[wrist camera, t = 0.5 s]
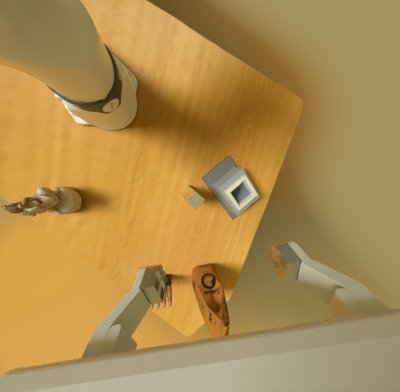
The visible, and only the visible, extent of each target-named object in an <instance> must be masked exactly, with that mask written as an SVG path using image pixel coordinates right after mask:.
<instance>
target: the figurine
mask: <svg viewBox="0 0 400 392" xmlns="http://www.w3.org/2000/svg"><path fill="white" fill-rule="evenodd" d="M37 192H38V195H31V196H27V197H26V198H24V199H23V202H21V201H16V202H13V203H10V204H8V205H5V206H2V208H3V209H4V210H5V211H8V212H10V213H18V214H22V215H26V216H30V217H34V216H36V213H38V214H41V213H44V212H46V211H47V212H48V213H51V214H54V215H62V214H70V213H71V214H72V213H73V212H75V211H76V210H78V209H79V208H80V206H81V202H82V199H81V196H80V195H79V194H78V192H76V191H75V190H74V189H72V188H69V187H57V188H53V189H49V188H43V187H42V188H39V189H38V190H37Z"/></svg>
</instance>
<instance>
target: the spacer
mask: <svg viewBox="0 0 400 392" xmlns="http://www.w3.org/2000/svg"><path fill="white" fill-rule="evenodd" d="M243 181H244V182H245V184H246V186H247V187H248V189H249V190H250V192H251V193H252V194H251V195H250V196H249V197H247V198H246V199H245V200H244V201H243V202H242V203H240V204H239V205H238V203H237V202H236V200H235V199H234V198H233V196H232V195H231V193H230V192H231V191H233V190H234V189H235V188H236V187H237V186H238V185H240V184H241V183H242V182H243ZM224 192H225V193H226V195H227V196H228V198H229V199H230V200H231V202H232V203H233V205H234V206H235V207H236V209H237V210H238V211H240V210H241V209H242V208H243V207H244V206H245V205H247V204H248V203H249V202H250V201H251V200H252V199H254V198H255V197H256V196H257V195H258V194H257V193H256V191H255V190H254V188H253V186H252V185H251V183H250V181H249V180H248V178H247V177H246V175H243V176H242V177H241V178H240V179H238V180H237V181H236V182H235V183H234V184H232V185H231V186H230V187H229V188H228V189H226V190H225V191H224Z"/></svg>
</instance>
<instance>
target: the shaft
mask: <svg viewBox="0 0 400 392" xmlns="http://www.w3.org/2000/svg"><path fill="white" fill-rule="evenodd" d="M182 195H183V197H184V198H185V200H186V201H187V202H188V203H189V204H190V205H192V206H193V207H194V208H195V209H197V208H198V207H199V206H200V205H201V204H202V203H203V201H204V200H205V199H204V198H202V197H201V196H200V195H199V194H198V193H197V192H196V191H194V190H193V189H192V188H191V187H190V186H187V187H186V188H185V190H184V191H183V192H182Z"/></svg>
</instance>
